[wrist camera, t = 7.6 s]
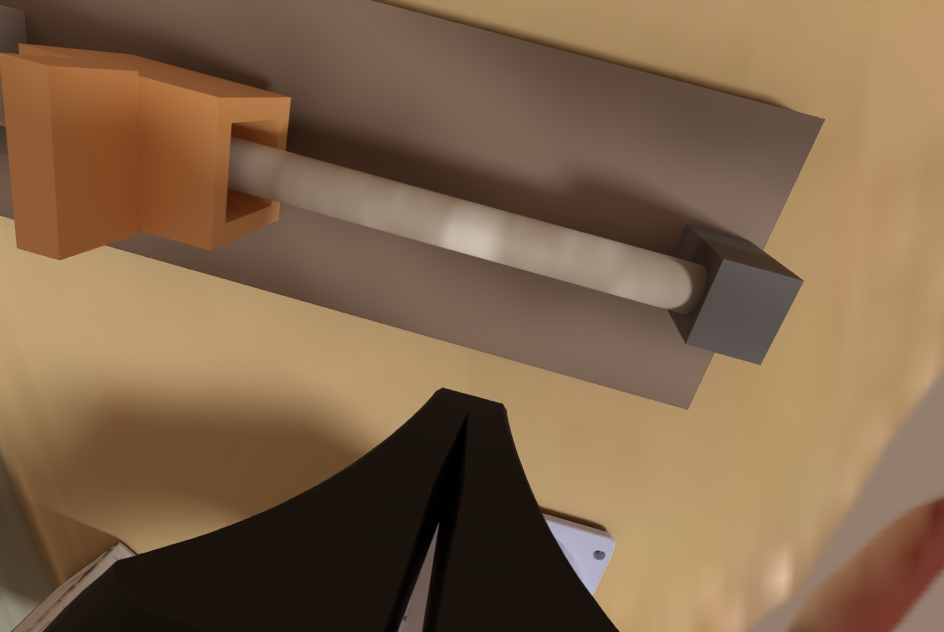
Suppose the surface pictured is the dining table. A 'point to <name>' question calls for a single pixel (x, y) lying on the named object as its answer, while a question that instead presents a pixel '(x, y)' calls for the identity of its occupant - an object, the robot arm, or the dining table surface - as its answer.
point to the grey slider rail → (478, 183)
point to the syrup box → (71, 590)
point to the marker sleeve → (129, 150)
